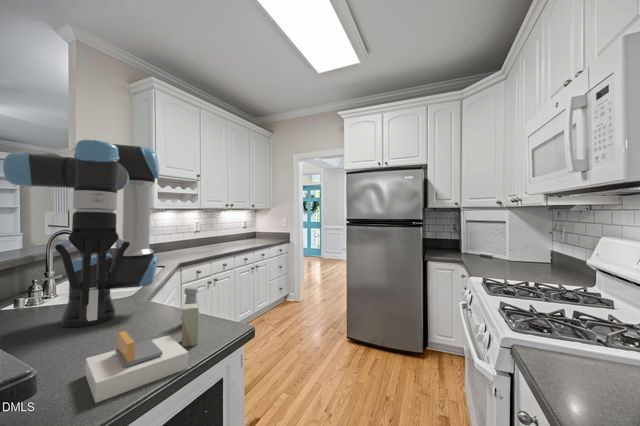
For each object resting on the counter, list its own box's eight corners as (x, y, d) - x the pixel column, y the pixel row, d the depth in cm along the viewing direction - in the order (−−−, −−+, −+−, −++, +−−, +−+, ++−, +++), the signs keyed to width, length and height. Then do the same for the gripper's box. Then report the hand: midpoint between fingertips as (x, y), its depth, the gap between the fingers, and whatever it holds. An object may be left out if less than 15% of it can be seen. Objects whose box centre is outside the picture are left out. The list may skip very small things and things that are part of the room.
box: (182, 340, 83) (183, 304, 84) (198, 338, 85) (198, 302, 85) (181, 347, 79) (182, 309, 79) (197, 345, 80) (198, 307, 81)
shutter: (115, 352, 67) (115, 332, 67) (150, 342, 72) (150, 324, 72) (124, 367, 60) (125, 345, 60) (162, 355, 66) (162, 334, 66)
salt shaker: (192, 327, 93) (193, 289, 93) (177, 326, 94) (178, 288, 94) (202, 321, 99) (203, 285, 99) (188, 320, 100) (189, 284, 100)
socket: (85, 375, 64) (86, 358, 64) (168, 349, 77) (168, 335, 78) (95, 403, 55) (95, 383, 55) (188, 368, 68) (188, 352, 68)
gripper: (55, 209, 53) (50, 332, 52) (134, 212, 63) (131, 315, 62) (53, 210, 58) (49, 322, 57) (126, 212, 68) (123, 308, 67)
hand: (91, 318), depth 60 cm, fingers closed
